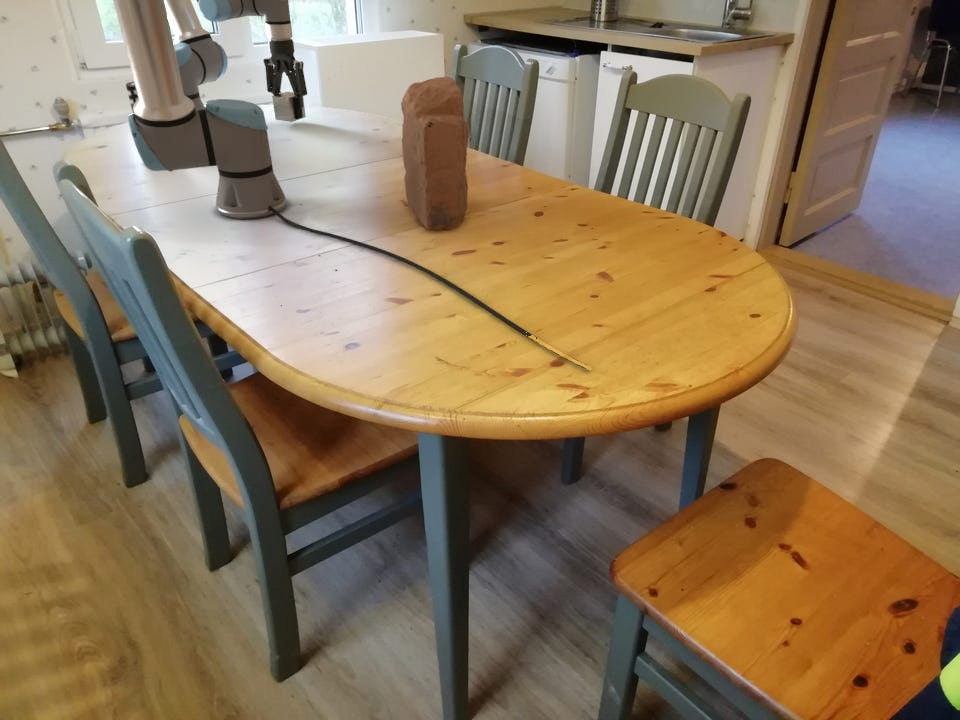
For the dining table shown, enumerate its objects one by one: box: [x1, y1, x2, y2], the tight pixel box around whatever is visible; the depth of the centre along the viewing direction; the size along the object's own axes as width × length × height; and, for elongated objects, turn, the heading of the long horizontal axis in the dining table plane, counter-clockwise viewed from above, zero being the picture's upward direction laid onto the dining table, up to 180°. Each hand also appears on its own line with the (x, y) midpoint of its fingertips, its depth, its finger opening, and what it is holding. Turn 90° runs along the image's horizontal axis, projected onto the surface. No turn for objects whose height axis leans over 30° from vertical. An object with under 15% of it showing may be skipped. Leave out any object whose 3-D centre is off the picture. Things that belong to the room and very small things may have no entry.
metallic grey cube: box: [271, 91, 306, 123], centre depth 220 cm, size 6×7×7 cm
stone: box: [400, 76, 469, 231], centre depth 148 cm, size 22×11×28 cm, turn 18°
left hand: (290, 117), depth 222 cm, fingers open, 6 cm apart
